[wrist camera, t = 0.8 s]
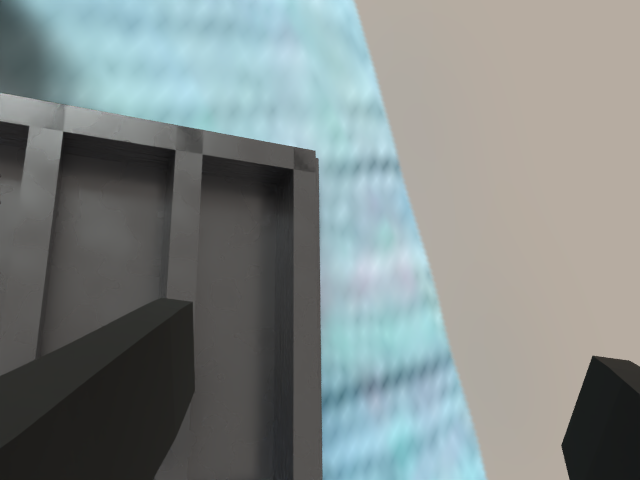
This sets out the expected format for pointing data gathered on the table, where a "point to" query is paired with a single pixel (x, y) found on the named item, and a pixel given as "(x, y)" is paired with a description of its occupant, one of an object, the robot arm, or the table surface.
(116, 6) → the table surface
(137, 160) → the rack
